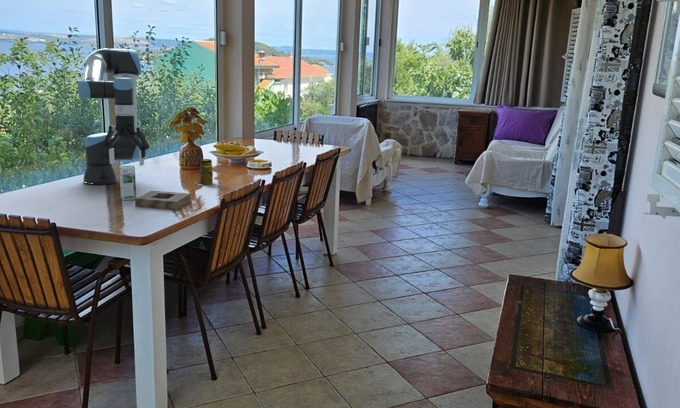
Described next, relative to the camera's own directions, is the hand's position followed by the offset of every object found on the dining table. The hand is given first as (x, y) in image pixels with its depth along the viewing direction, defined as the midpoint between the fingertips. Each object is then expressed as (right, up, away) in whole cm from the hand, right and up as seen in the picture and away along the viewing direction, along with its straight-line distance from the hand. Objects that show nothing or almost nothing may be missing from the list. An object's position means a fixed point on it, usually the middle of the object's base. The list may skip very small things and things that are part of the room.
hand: (126, 164), depth 256 cm
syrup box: (-1, -15, +4) cm, 16 cm away
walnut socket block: (+16, -17, -2) cm, 24 cm away
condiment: (+25, -7, +39) cm, 47 cm away
